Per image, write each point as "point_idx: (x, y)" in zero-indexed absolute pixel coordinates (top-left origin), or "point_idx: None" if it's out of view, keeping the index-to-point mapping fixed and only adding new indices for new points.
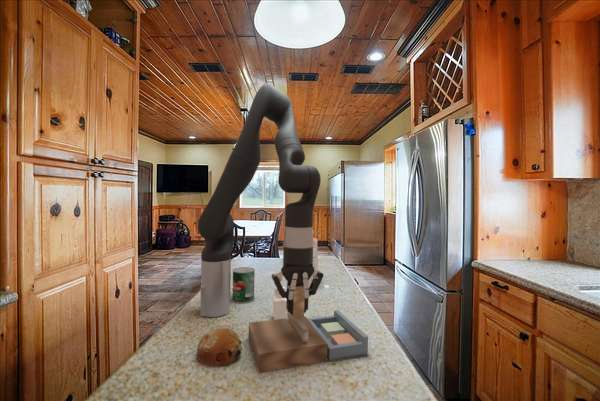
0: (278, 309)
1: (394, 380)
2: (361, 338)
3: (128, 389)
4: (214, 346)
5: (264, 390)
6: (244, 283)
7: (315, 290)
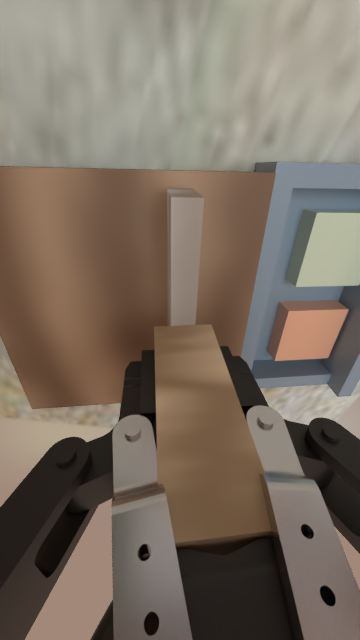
0: None
1: (297, 422)
2: (336, 381)
3: None
4: None
5: (66, 414)
6: None
7: (331, 491)
